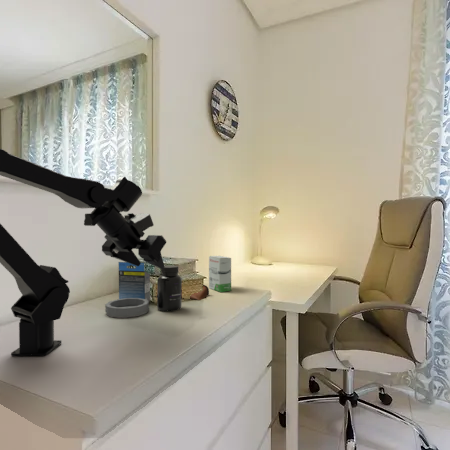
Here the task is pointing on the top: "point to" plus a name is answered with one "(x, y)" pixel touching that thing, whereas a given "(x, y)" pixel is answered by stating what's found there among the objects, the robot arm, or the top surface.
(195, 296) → the sunglasses case
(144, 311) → the ring seat
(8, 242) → the robot arm
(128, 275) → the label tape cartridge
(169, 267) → the supplement bottle
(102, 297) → the top surface
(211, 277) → the ink box
